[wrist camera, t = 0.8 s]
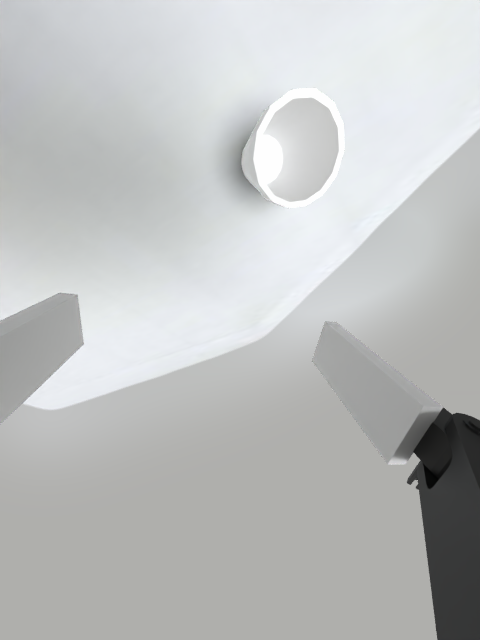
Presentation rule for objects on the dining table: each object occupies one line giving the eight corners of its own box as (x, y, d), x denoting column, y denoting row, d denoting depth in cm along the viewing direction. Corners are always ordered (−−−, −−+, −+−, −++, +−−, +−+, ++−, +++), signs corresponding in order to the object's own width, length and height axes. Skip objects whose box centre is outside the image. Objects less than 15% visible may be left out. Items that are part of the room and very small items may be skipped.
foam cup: (249, 210, 36) (277, 225, 25) (217, 146, 31) (235, 132, 20) (301, 173, 34) (354, 173, 24) (277, 101, 29) (330, 60, 19)
